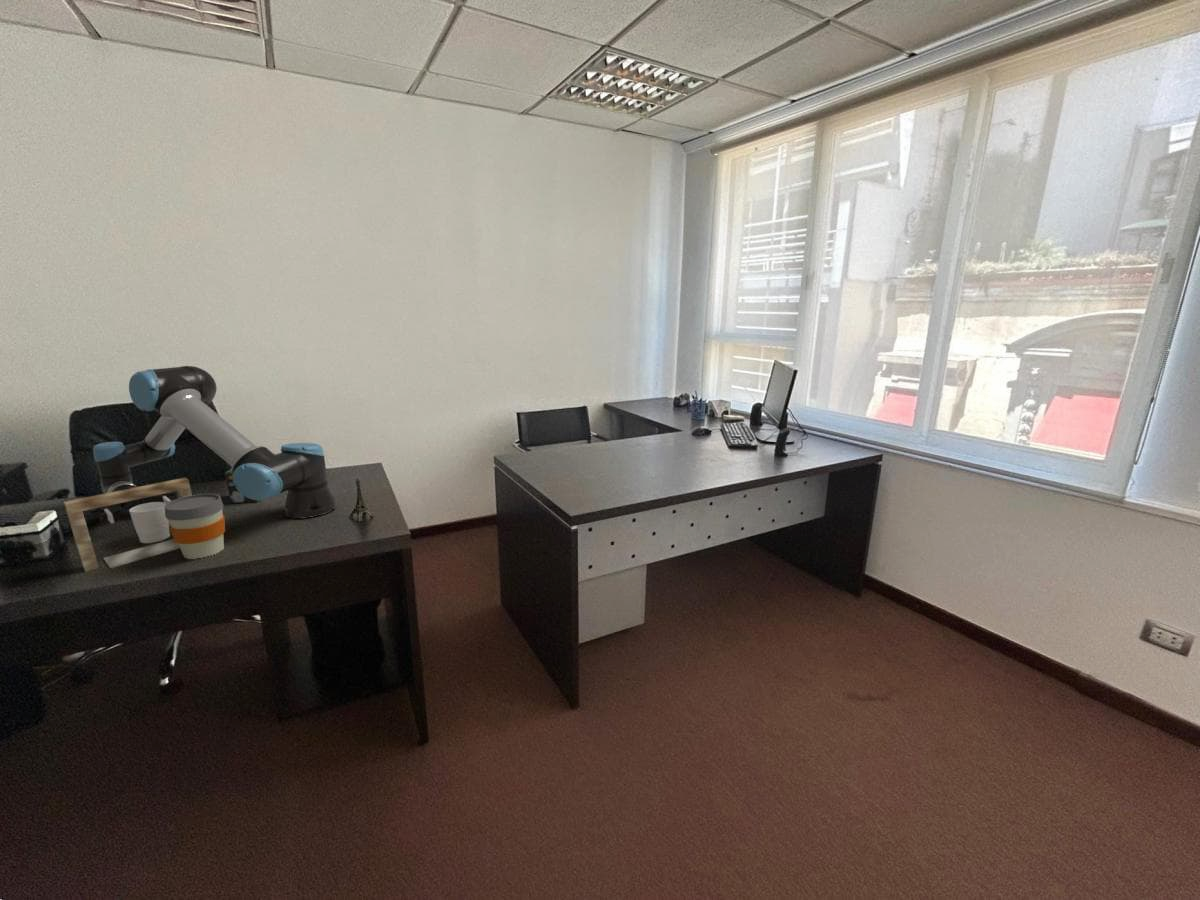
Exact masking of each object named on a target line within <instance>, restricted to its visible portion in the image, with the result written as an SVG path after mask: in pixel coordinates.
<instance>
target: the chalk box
mask: <svg viewBox="0 0 1200 900" xmlns="http://www.w3.org/2000/svg"><path fill="white" fill-rule="evenodd" d="M231 469H232V467H231V468H230V469H228V470H226V471H225V472H224V477H225V482H226V486H227V490H228V495H229V500H230V503H231V504H235V503H245V504H246V503H259V502H260V501H261V500H253V499H250V498H247V497H245V496H244V495H242V494H241V493H240V492H239V491H238V490H237V488H236V486H237V485H236V484H234V482H233V474H232V472H231Z"/></svg>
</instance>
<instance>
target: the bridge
mask: <svg viewBox="0 0 1200 900" xmlns="http://www.w3.org/2000/svg"><path fill="white" fill-rule="evenodd" d="M170 492H173V493H175V492H177V493H176V494H177V499H179V498H182V497H186V496H191V495H193V493H192V489H191V485H190V480H189V479H188V478H187V477H181V478H175V479H171V480H167V481H166V480H165V481H161V482H157V483H156V482H155V483H151V484H145V485H142V486H137V487H135V488H130V489H126V490H121V491H116V492H111V493H106V494H104V493H101V494H96V495H91V496H87V497H81V498H76V499H71V500H67V501H63V505H64V508H65V512H66V515H67V517H68V521H69V525H70V527H71V531H72V534H73V535H72V536H73V538H74V541H75V544H76V548H77V551H78V555H79V558H80V561H81V565H82V569H83V570H84V572H90V571H94V570H97V569H99V567H100V566H99V564H98V560H97V557H96V553H95V550H94V546H93V543H92V538H91V536H90V533H89V528H88V526H87V525H88V524H87V521H86V518H85V516H84V511H90V510H92V509H95V508H100V507H104V506H109V505H114V504H118V503H123V502H128V501H132V500H137V499H142V498H146V497H151V496H156V495H160V494H165V493H170ZM179 549H180V546H179V544H178V543H177V542H175V540H174V538H172V539H168V540H163V541H159V542H156V543H154V544H153V543H152V544H149V545H145V546H143V547H142V546H141V547H139V548H136V549H131V550H128V551H124V552H120V553H116V554H113V555H110V556H109V555H108V556H105V557H103V560H104V562H105V563H106V565H107V566H108V567H109V569H113V568H117V567H120V566H124V565H127V564H131V563H134V562H137V561H140V560H144V559H148V558H151V557H155V556H158V555H162V554H166V553H169V552H173V551H177V550H179ZM180 550H181V549H180Z"/></svg>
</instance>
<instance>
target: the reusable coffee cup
mask: <svg viewBox="0 0 1200 900" xmlns="http://www.w3.org/2000/svg"><path fill="white" fill-rule="evenodd" d="M223 510H224V504H223V501H222V498H221V495H220V494H216V493H199V494H192V495H191V496H186V497H182V498H177V499H176V500H173V501H171V502H169V503H167V504H166V505H165V517H166V518H167V519H168V522H169V531H170V532H171V535H172V537H173V539H174V540H175V542H177V543H178V544H179V546H180V551H181V553H182V555H183V558H185V559H186V558H187V560H198V559H197V558H201V559H204V558H203V557H206V558H208V557H207V556H209V557H211V556H210V555H212V556H214V555H213V554H215V555H217V554H219V553H220V551H221V550H222V551H223V550H224V549H225V542H224V540H225V539H224V533H225V532H226V520H225V518H226V517H225V514H223V513H224V511H223ZM222 551H221V552H222ZM218 552H219V553H218ZM216 553H217V554H216Z"/></svg>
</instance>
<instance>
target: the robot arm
mask: <svg viewBox="0 0 1200 900" xmlns="http://www.w3.org/2000/svg"><path fill="white" fill-rule="evenodd" d="M128 392H129V396H130V399H131V401H132V402H133V404H134V405H135V406H136V408H137V409H139V410H140V411H144V412H145V411H146V412H152V411H156V412H157V413H158V414H159V415H161V416H160V417H159V418H158V420H157V421H156V423H155V424H154V425H153V427H152V428H151V429H150V431H149V432H148V434H147V435H146V436H145V437H144V439H143V440H142V441H137V442H133V443H129V444H125V445H124V443H123V442H122V441H107V442H102V443H97V444H95V445H94V446H93V448H92V452H93V458H94V462H95V464H96V469H97V471H98V474H99V479H100V489H101V492H102V494H106V493H111V492H116V491H121V490H126V489H130V488H135V487H138V486H137V485H136V484H134V481H133V477H132V473H131V469H130V468H131V467H135V466H139V465H142V464H147V463H151V462H154V461H155V462H156V461H159V460H163V459H167V458H169V457H171V456H173V455H174V454H175V452H176V451H175V450H176V445H175V444H176V443H175V442H176V441H177V440H178V438H179V437H180V436H181V435H182V433H183V432H184V431H185V430H188V431H189V432H190V433H191V434H192V435H193V436H195V437H196V438H197V439H198V440H199V441H201V442H202V444H204V445H206V446H207V447H208V448H209V449H210V450H211V451H213V452H214V453H215V454H216V455H218V456H219V457H220V458H221V459H222V460H223V461H225V462H226V463H227V464H228V465H230V466H231V468H232V469H231V468H230V469H231V472H232V474H233V482H234V484H236V485H237V486H236V488H237V490H238V491H239V492H240V493H241V494H242V495H244V496H245V497H247V498H250V499H253V500H260V501H263V500H266V499H270V498H271V499H272V498H274V497H277V496H278V495H280V494H282V493H284V492H287V495H286V501H285V505H284V512H285V516H286V515H287V516H286V517H288V516H289V517H288V518H290V517H294V518H293V519H297V518H300V517H309V516H315V515H319V514H322V513H325V512H328V511H330V510H332V509H333V508H334V507H335V506H336V505H337V499H336V497H334V495H333V493H332V491H331V489H330V487H329V484H328V483H329V482H328V475H327V469H326V460H325V459H326V458H325V455H324V449H323V447H322V445H320V444H318V443H313V442H293V443H286V444H283V445H282V446H281V448H280V452H279V453H276V454H275V453H274V452H272V451H271V450H270V449H268V448H267V447H266V446H263V445H261V446H257V445H256V444H254V443H253V442H251V441H250V439H248V438H247V437H246V436H244V434H242V433H241V432H239V430H237V429H236V428H235V427H234V426H232V425H231V424H230V423H229V422H228V421H226V420H225V419H224V418H222V416H220V414H218V413H216V411H214V410H213V409H212V408H211V407H210V406H209V405H210V404H211V403H212V402H213V400H214V399H215V396H216V394H217V383H216V381H215V379H214V377H213V376H212V375H211V374H210V372H208V371H206V370H204V369H203V368H200V367H197V366H193V365H183V366H177V367H176V366H174V367H164V368H156V369H155V368H154V369H150V368H148V369H146V370H139V371H137V372H135V373H134V374H132V375H131V377H130V379H129V383H128ZM176 499H178V494H177V493H176V492H170V493H165V494H160V495H156V496H151V497H146V498H142V499H137V500H132V501H128V502H123V503H118V504H114V505H109V506H104V507H100V508H95V509H90V510H88V511H89V514H90V518H91V520H97V519H98V518H99V519H100V520H101V521H105V520H107V521H108V522H109V523H110V524H115V520H114V515H113V514H114V513H116V512H117V511H122V510H130V509H131V508H132V507H135V506H137V505H141V504H145V503H151V502H164V503H165V505H166V504H167V503H169V502H171V501H173V500H176Z"/></svg>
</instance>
